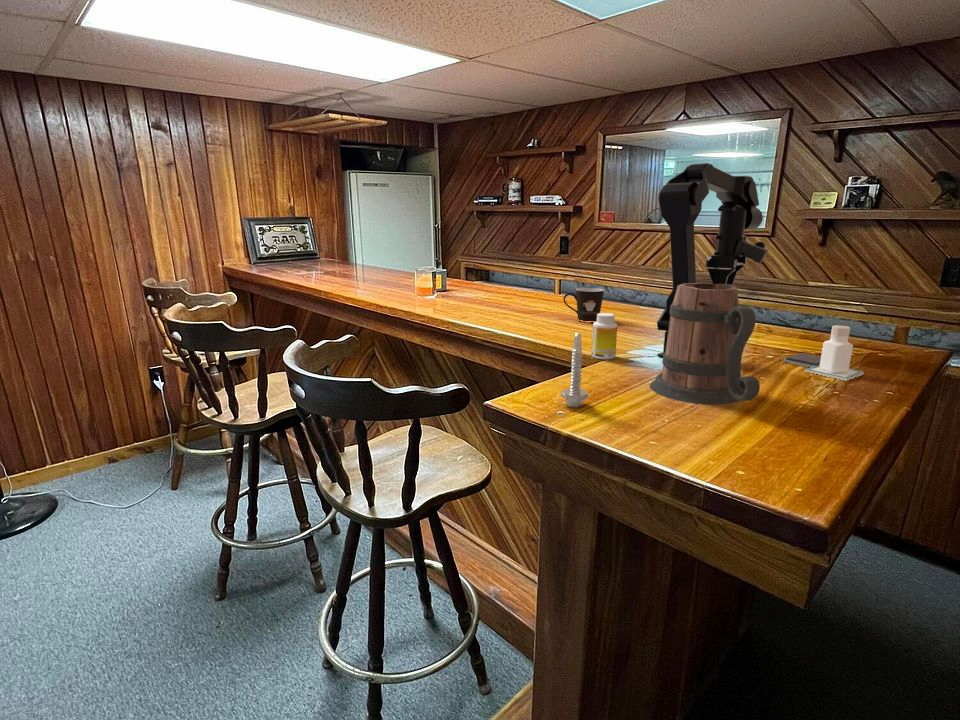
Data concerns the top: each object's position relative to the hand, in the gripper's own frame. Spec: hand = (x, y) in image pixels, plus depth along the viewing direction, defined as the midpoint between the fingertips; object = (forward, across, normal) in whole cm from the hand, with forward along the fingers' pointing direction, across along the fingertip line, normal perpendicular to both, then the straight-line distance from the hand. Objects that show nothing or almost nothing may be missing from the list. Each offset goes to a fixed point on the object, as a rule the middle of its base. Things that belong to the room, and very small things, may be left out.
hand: (723, 294), depth 134 cm
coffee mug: (+13, +10, +42) cm, 45 cm away
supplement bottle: (+13, -29, +19) cm, 37 cm away
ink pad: (+13, -8, -21) cm, 26 cm away
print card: (+13, -14, -26) cm, 32 cm away
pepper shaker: (+13, -14, -26) cm, 32 cm away
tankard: (+13, -44, -7) cm, 47 cm away
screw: (+13, -63, +10) cm, 65 cm away
